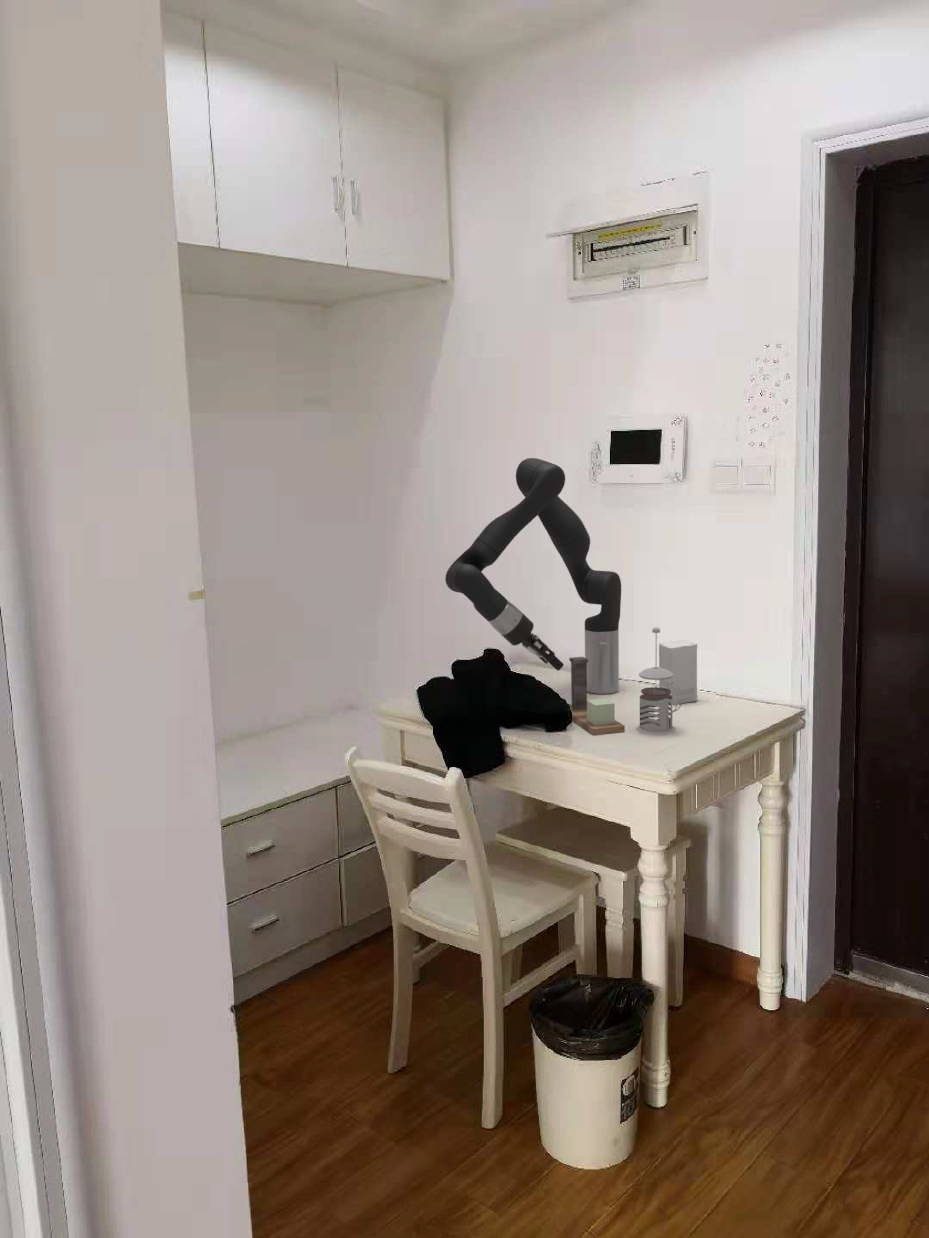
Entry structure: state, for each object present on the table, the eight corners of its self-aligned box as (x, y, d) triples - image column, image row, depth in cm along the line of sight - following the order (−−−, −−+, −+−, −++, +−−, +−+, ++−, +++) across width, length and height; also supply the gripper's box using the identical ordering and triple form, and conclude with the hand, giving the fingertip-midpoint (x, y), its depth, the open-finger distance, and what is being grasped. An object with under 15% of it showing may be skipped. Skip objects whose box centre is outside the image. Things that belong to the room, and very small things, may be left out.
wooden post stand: (560, 712, 268) (559, 657, 265) (589, 709, 270) (589, 655, 267) (593, 735, 247) (592, 676, 244) (624, 731, 249) (624, 673, 246)
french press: (650, 722, 257) (650, 622, 252) (691, 730, 249) (692, 627, 244) (626, 731, 250) (626, 628, 246) (668, 739, 242) (668, 633, 238)
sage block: (587, 720, 254) (586, 700, 253) (606, 718, 255) (606, 698, 254) (595, 725, 249) (594, 705, 248) (614, 723, 250) (614, 703, 249)
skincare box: (685, 696, 280) (685, 639, 278) (698, 702, 274) (699, 643, 272) (657, 699, 278) (657, 642, 275) (670, 705, 272) (670, 646, 269)
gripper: (529, 615, 250) (575, 658, 255) (511, 606, 264) (554, 647, 269) (509, 639, 250) (555, 681, 255) (491, 629, 263) (535, 669, 268)
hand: (554, 664), depth 262 cm, fingers open, 8 cm apart
